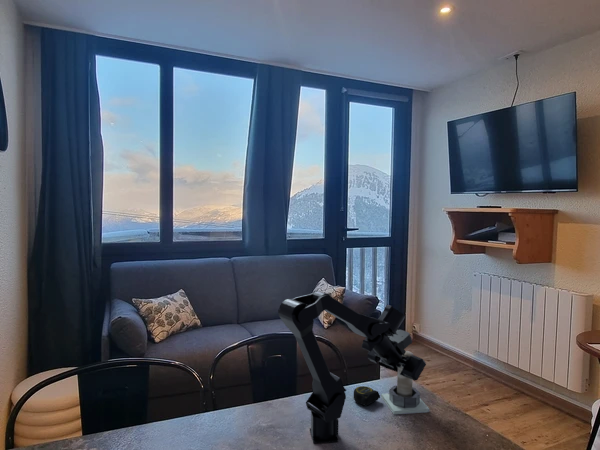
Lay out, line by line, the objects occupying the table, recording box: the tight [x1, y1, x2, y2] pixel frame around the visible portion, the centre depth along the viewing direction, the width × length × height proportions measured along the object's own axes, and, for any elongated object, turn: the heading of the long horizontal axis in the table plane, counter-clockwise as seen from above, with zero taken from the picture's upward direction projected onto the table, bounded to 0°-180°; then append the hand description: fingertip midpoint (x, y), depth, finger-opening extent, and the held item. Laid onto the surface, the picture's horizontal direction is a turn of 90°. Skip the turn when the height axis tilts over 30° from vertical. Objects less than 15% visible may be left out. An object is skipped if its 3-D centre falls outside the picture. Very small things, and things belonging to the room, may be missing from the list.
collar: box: [388, 385, 421, 408], centre depth 125 cm, size 8×8×3 cm
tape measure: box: [353, 385, 381, 406], centre depth 127 cm, size 7×7×4 cm
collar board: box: [380, 392, 430, 415], centre depth 125 cm, size 11×11×1 cm
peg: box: [396, 350, 414, 397], centre depth 125 cm, size 4×4×14 cm
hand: (407, 374), depth 125 cm, fingers closed on peg, 4 cm apart
